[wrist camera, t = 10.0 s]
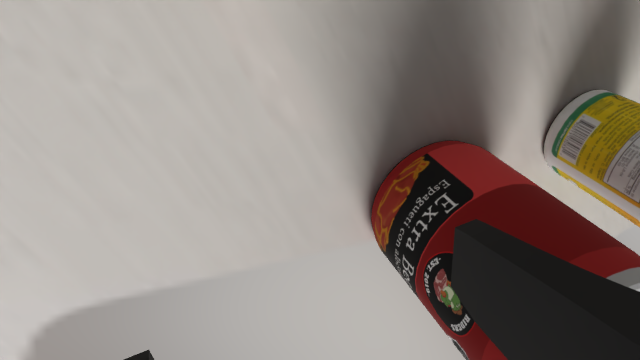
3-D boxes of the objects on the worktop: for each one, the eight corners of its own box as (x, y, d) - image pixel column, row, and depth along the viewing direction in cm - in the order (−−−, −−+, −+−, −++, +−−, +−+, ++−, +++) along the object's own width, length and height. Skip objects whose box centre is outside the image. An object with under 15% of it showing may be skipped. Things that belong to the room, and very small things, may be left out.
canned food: (389, 132, 22) (576, 293, 14) (511, 137, 26) (720, 268, 17) (349, 260, 26) (480, 451, 17) (462, 249, 29) (616, 403, 21)
